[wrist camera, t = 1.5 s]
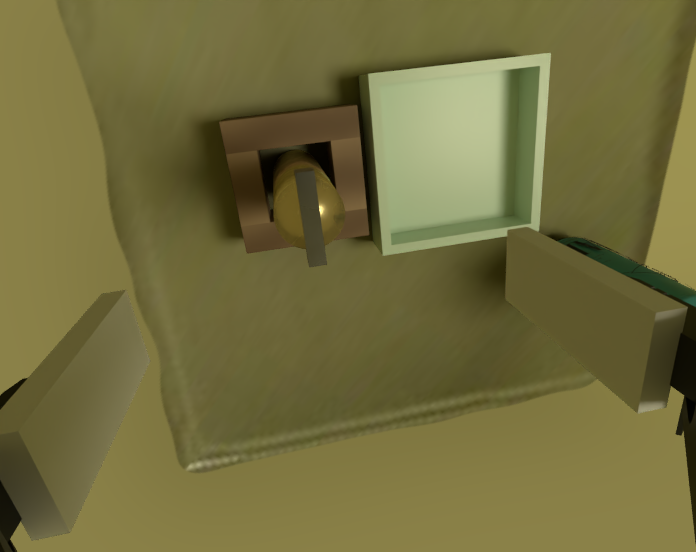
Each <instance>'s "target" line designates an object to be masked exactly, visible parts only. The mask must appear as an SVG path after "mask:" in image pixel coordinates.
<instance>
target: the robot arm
mask: <svg viewBox="0 0 696 552" xmlns="http://www.w3.org/2000/svg"><path fill="white" fill-rule="evenodd" d="M505 300H507V301H508V302H509V303H510V304H511V305H512V306H514V307H515V308H516V309H517V310H518V311H519V312H521V313H522V314H523V315H524V316H525V317H526V318H528V319H529V320H530V321H531V322H532V323H533V324H534V325H536V326H537V327H538V328H539V329H540V330H541V331H543V332H544V333H545V334H546V335H547V336H548V337H550V338H551V339H552V340H553V341H554V342H555V343H557V344H558V345H559V346H560V347H561V348H562V349H563V350H565V351H566V352H567V353H568V354H569V355H570V356H572V357H573V358H574V359H575V360H576V361H577V362H579V363H580V364H581V365H582V366H583V367H584V368H586V369H587V370H588V371H589V372H590V373H591V374H592V375H594V376H595V377H596V378H597V379H598V380H599V381H601V382H602V383H603V384H604V385H605V386H606V387H608V388H609V389H610V390H611V391H612V392H614V393H615V394H616V395H617V396H618V397H619V398H620V399H622V400H623V401H624V402H625V403H626V404H627V405H628V406H630V407H631V408H632V409H633V410H634V411H635V412H637V413H642V412H647V411H651V410H656V409H661V408H665V407H666V406H667V402H668V397H669V392H670V388H671V386H672V387H673V388H675V389H676V390H678V391H679V392H680V393H682V394H683V395H684V400H683V404H682V409H681V413H680V417H679V422H678V426H677V430H676V434H677V435H682V433H683V430H684V438H685V447H686V457H687V467H688V476H689V486H690V494H691V504H692V514H693V523H694V533H695V542H696V307H695V306H693V305H691V304H689V303H687V302H685V301H683V300H681V299H679V298H676V297H674V296H672V295H667V293H666V292H664V291H662V290H660V289H658V288H656V289H655V287H654V286H652V285H650V284H648V283H646V282H644V281H642V280H640V279H637V278H633V277H629V276H626V275H623V274H621V273H619V272H617V271H615V270H613V269H611V268H609V267H607V266H605V265H603V264H601V263H599V262H597V261H595V260H593V259H591V258H589V257H587V256H585V255H583V254H581V253H579V252H577V251H575V250H573V249H571V248H569V247H567V246H565V245H563V244H561V243H559V242H557V241H555V240H553V239H551V238H549V237H547V236H545V235H543V234H541V233H539V232H537V231H535V230H533V229H531V228H529V227H522V228H516V229H509V230H507V256H506V286H505ZM149 363H150V359H149V356H148V353H147V350H146V347H145V344H144V341H143V338H142V335H141V332H140V329H139V326H138V323H137V320H136V317H135V314H134V311H133V309H132V306H131V303H130V300H129V296H128V294H127V291H126V290H123V291H117V292H110V293H103V294H101V295H100V296H99V298H98V299H97V300H96V301H95V302H94V303H93V304H92V306H91V307H90V308H89V309H88V310H87V311H86V312H85V314H84V315H83V316H82V317H81V318H80V320H78V322H77V323H76V324H75V325H74V326H73V327H72V328H71V330H70V331H69V332H68V333H67V334H66V335H65V337H64V338H63V339H62V340H61V341H60V342H59V343H58V344H57V346H56V347H55V348H54V349H53V350H52V351H51V352H50V354H49V355H48V356H47V357H46V358H45V359H44V360H43V361H42V363H41V364H40V365H39V366H38V367H37V368H36V369H35V371H34V372H33V373H32V374H31V375H30V376H29V377H28V378H26V379H22V380H20V381H19V382H18V383H16V384H15V385H14V386H12V387H11V388H9V389H8V390H6V391H5V392H4V393H2V394H1V395H0V552H17V550H16V548H15V547H14V545H13V543H12V542H11V540H10V538H11V536H12V535H13V533H14V531H15V530H16V528H17V526H18V525H19V523H20V521H21V522H22V524H23V526H24V528H25V529H26V531H27V533H28V535H29V536H30V538H31V540H32V541H33V540H38V539H42V538H48V537H52V536H57V535H62V534H66V533H70V532H71V530H72V528H73V526H74V524H75V521H76V519H77V517H78V515H79V513H80V511H81V509H82V506H83V504H84V502H85V500H86V498H87V496H88V493H89V491H90V489H91V487H92V485H93V483H94V481H95V478H96V476H97V474H98V472H99V470H100V468H101V466H102V463H103V461H104V459H105V457H106V455H107V453H108V451H109V448H110V446H111V444H112V442H113V440H114V437H115V436H116V433H117V431H118V429H119V427H120V425H121V423H122V420H123V418H124V416H125V414H126V412H127V410H128V408H129V406H130V403H131V401H132V399H133V397H134V395H135V393H136V391H137V388H138V386H139V384H140V382H141V380H142V378H143V376H144V373H145V371H146V369H147V367H148V364H149Z"/></svg>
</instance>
